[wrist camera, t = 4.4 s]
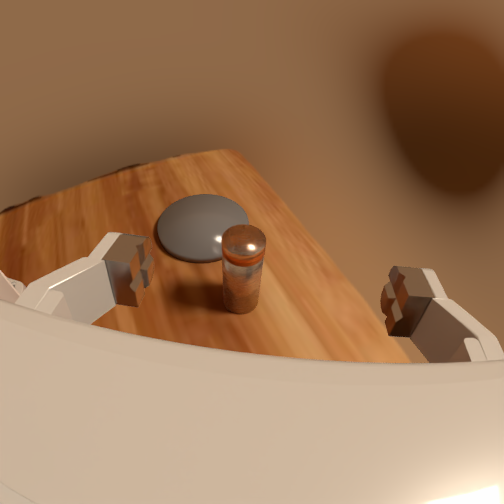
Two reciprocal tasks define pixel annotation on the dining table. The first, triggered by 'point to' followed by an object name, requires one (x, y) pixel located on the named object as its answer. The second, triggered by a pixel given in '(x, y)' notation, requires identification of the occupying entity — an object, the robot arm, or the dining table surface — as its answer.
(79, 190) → the dining table surface
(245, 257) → the spice shaker
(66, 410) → the robot arm
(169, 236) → the charcoal plate
